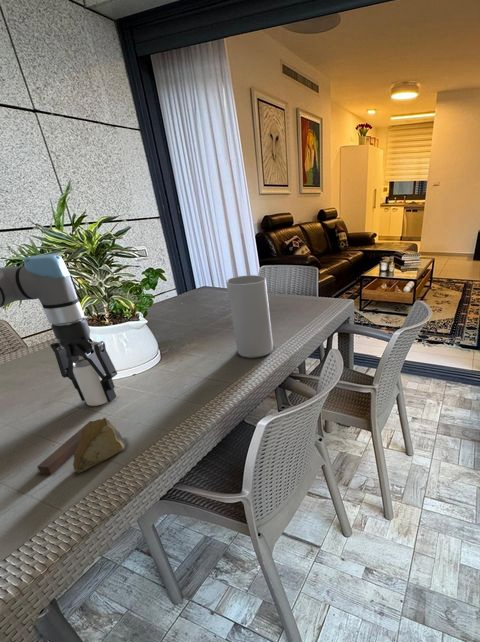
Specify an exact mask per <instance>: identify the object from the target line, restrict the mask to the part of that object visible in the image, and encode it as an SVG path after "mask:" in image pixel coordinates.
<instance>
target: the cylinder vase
mask: <svg viewBox="0 0 480 642" xmlns="http://www.w3.org/2000/svg"><path fill="white" fill-rule="evenodd" d="M225 283H226V288H227V295H228V302H229V309H230V314H231V320H232V326H233V332H234V338H235V344H236V351H237V354H238V355H239V356H241V357H244V358H248V359H249V358H250V359H253V358H255V359H256V358H261V357H264V356H267V355H269V354H271V352H272V351H273V350H274V341H273V334H272V333H273V332H272V323H271V315H270V305H269V296H268V287H267V278H266V276H262V275H256V274H255V275H253V274H252V275H251V274H249V275H239V276H235V277H230V278H228V279H227V280H226V282H225Z"/></svg>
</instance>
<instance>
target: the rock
mask: <svg viewBox="0 0 480 642" xmlns="http://www.w3.org/2000/svg"><path fill="white" fill-rule="evenodd" d="M92 421H93V422H92V423H91V424H90V425H88V426H87V427H86V428H84V429H82V431H81V438H80V440H79V444H78V448H77V449H76V450H75V453H74V454H73V463H72V466H73V469H74V471H75V472H76V473H77V474H80V473H83V472H84V471H86V470H88V469H90V468H92V467H94V466H96V465H98V464H99V463H101V462H103V461H105V460H107V459H109V458H112V457H113V456H115V455H116V454H119V453H120V452H122V451H123V450H124V449H125V447H126V446H125V445H126V444H125V443H126V442H125V440H124V438H123V436H122V434H121V433H120V431H119V430H118V429H117V428H116V427H115V426H114V424H113V423H112V422H111V421H110V420H108V419H107V418H106V417H103V418H102V419H99V418H98V419H96V420H92Z"/></svg>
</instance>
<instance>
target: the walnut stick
mask: <svg viewBox="0 0 480 642" xmlns="http://www.w3.org/2000/svg"><path fill="white" fill-rule="evenodd" d="M93 421H94V420H90V421H88V422H87V423H86V424H84V425H83V426H82V427H81V428H80V429H79V430H78V431H77V432H75V433H74V434H73V435H72V436H70V437H69V439H67V440H66V441H65V442H64V443H63V444H61V445H60V446H59V447H58V448H57V449H55V450H54V451H53V452H52V453H51V454H49V456H47V457H46V458H45V459H43V461H42V462H40V463H39V464H38V465H37V466H36V468H37V469H38V471H39V473H40V474H42V475H53V474H54V473H55V472H56V471H57V470H58V469H59V468H60V467H61V466H62V465H63V464H64V463H66V462H67V461H68V460H69V459H70V458H71V457H72V456H74V453H75V450H76V449H77V448H78V444H79V440H80V438H81V431H82V429H84V428H86V427H87V426H88V425H90V424H91V423H92V422H93Z"/></svg>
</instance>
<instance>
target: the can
mask: <svg viewBox="0 0 480 642" xmlns="http://www.w3.org/2000/svg"><path fill="white" fill-rule="evenodd" d="M72 366H73V373H74V375H75V378H76V380H77V382H78V385H79V387H80V390H81V392H82V394H83V397H84V399H85V401H84V402H85V403H86V405H87V406H90V407H99V406H102V405H105V404H107V403H109V402H108V401H107V398H106V396H105V393H104V390H103V388H102V385H101V383H100V381H101V380H102V379H101V377H100V376H99V375H98V373H97V372H96V371H95V370H94V368H93V367H92V366H91V364H90V363H89V362H88V361H87V360H85V359H84V358H81V359H79V360H78V361H77V362H76V363H73V365H72Z"/></svg>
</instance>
